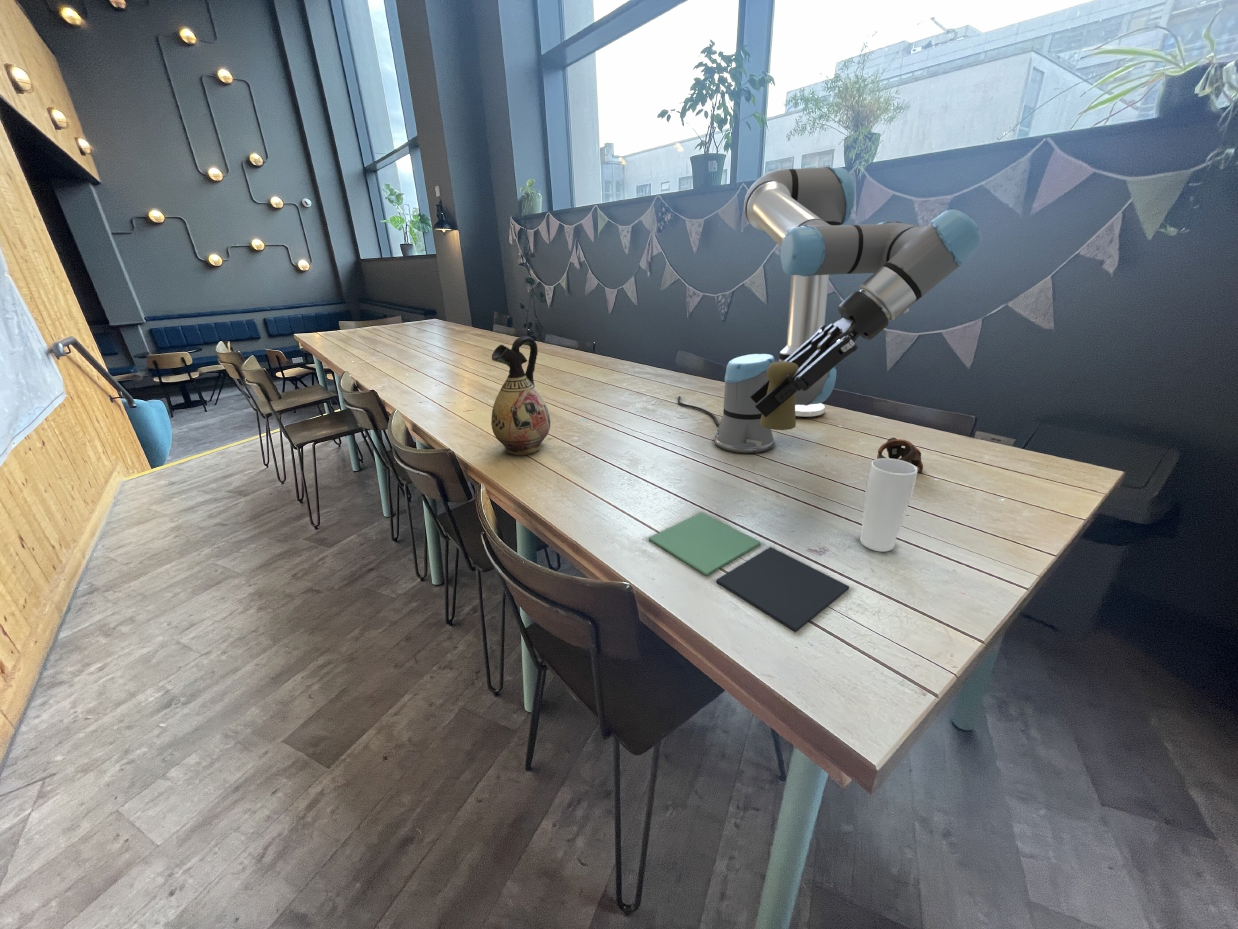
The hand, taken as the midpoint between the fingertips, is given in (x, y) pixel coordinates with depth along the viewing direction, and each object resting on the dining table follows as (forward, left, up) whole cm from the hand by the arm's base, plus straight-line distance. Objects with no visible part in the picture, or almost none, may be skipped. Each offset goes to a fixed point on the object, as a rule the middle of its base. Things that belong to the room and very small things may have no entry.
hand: (757, 406), depth 82 cm
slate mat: (+16, -13, -22) cm, 31 cm away
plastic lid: (-31, +66, -23) cm, 77 cm away
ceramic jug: (-63, -15, -23) cm, 68 cm away
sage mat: (0, -13, -22) cm, 26 cm away
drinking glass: (+20, +9, -23) cm, 32 cm away
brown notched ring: (+8, +44, -23) cm, 50 cm away
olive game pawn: (+3, +3, -3) cm, 5 cm away
